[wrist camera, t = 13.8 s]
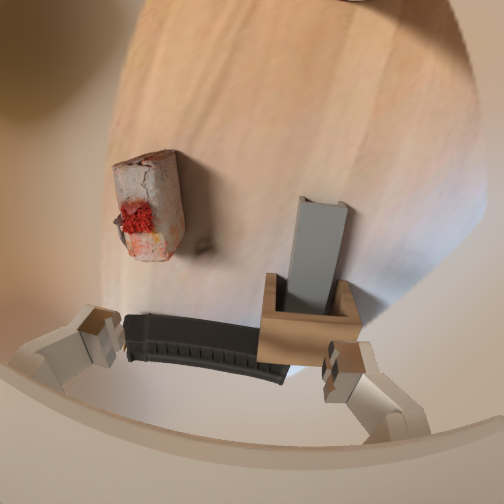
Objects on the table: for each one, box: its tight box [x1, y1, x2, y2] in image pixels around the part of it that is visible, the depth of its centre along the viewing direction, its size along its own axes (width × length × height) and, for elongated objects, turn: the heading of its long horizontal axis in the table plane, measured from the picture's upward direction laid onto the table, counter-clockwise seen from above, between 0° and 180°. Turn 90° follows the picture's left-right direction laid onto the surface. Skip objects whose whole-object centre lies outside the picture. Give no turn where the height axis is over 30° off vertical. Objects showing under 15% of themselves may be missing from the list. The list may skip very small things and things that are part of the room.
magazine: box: [122, 314, 290, 385], centre depth 44 cm, size 17×3×30 cm
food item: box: [112, 149, 186, 262], centre depth 34 cm, size 14×8×10 cm, turn 4°
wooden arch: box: [256, 273, 362, 367], centre depth 39 cm, size 8×12×10 cm, turn 86°
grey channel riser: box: [282, 196, 348, 315], centre depth 40 cm, size 20×6×3 cm, turn 176°
